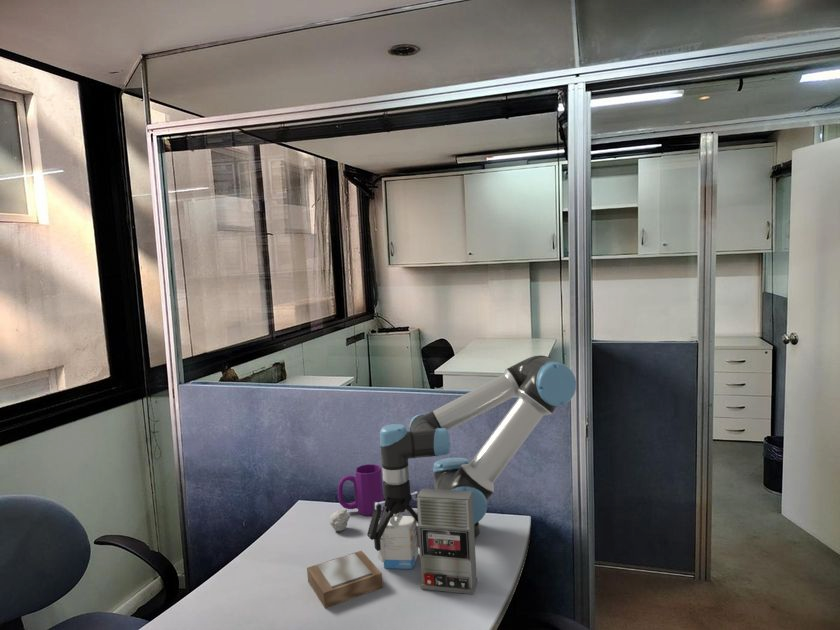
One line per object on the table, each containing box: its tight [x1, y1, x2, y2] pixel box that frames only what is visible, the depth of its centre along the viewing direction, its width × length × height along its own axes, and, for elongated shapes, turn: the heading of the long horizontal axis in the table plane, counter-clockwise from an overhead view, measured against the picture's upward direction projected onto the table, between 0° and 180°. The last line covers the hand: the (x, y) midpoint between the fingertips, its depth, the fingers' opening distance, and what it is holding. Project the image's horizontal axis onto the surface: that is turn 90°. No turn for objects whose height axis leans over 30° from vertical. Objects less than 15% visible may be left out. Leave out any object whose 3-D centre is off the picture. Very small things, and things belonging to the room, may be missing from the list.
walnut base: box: [306, 550, 384, 609], centre depth 150 cm, size 16×14×4 cm
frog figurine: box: [329, 508, 351, 532], centre depth 181 cm, size 6×7×7 cm
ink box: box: [381, 512, 419, 570], centre depth 160 cm, size 9×8×13 cm
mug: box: [337, 463, 385, 517], centre depth 194 cm, size 9×16×15 cm, turn 94°
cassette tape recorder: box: [416, 488, 478, 595], centre depth 146 cm, size 14×6×25 cm, turn 75°
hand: (401, 553), depth 161 cm, fingers closed on ink box, 11 cm apart
